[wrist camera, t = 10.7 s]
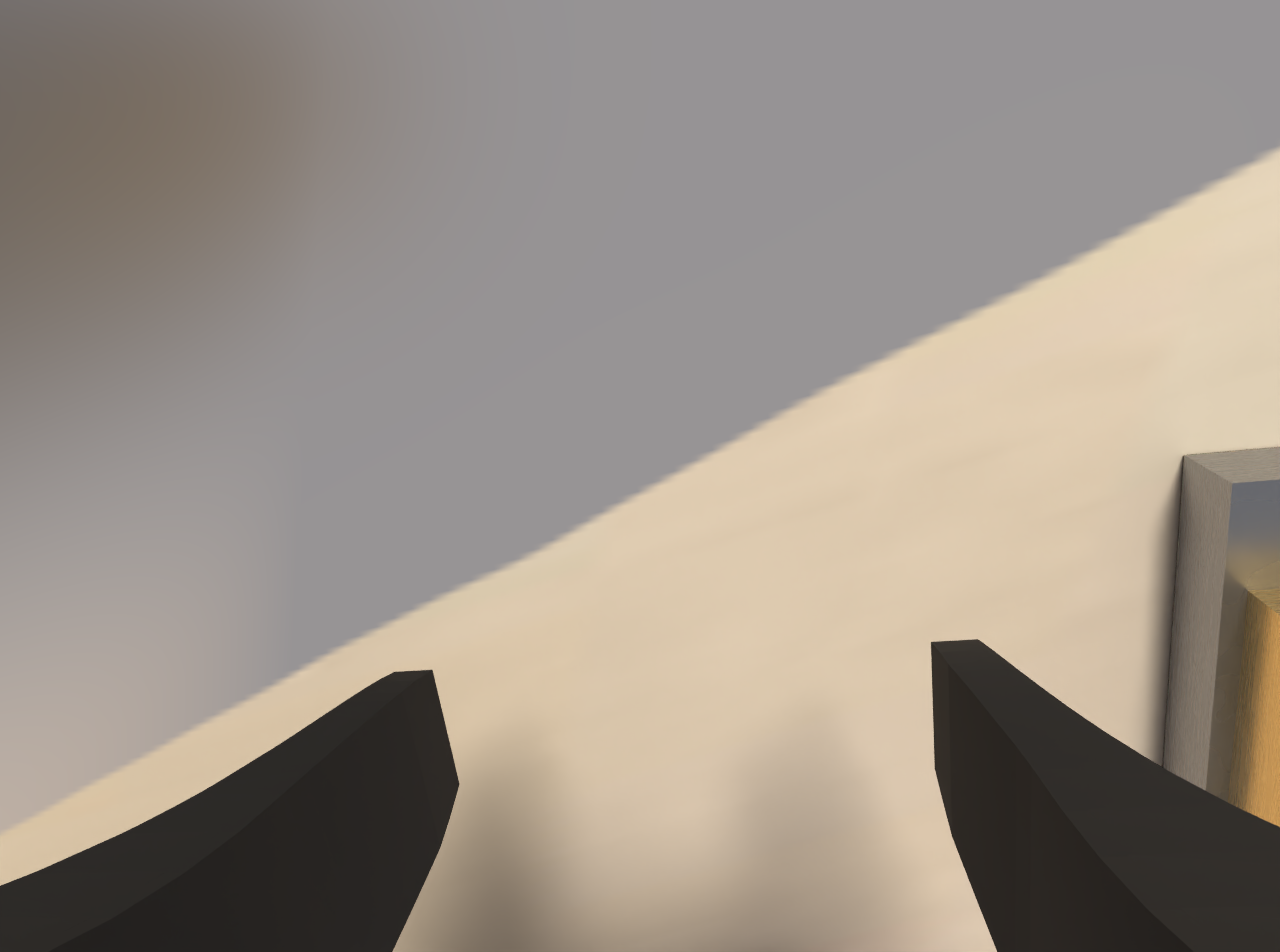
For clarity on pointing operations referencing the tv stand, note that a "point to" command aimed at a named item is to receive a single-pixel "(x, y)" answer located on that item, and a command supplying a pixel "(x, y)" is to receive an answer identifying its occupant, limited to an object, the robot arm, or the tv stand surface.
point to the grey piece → (1228, 631)
